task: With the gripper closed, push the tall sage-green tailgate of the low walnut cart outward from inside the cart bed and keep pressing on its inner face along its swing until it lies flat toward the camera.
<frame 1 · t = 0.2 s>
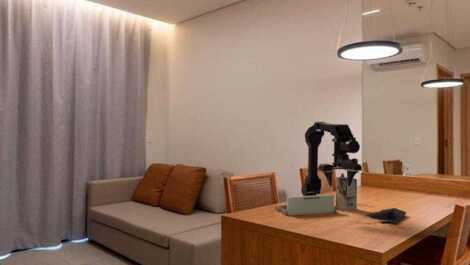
hand: (339, 186, 157), 14 cm above the table, tool pointing down, fingers open, 9 cm apart
hand bell: (341, 202, 194), on the table
dark slate chunk: (386, 219, 158), on the table
tailgate: (311, 204, 159), point 5 cm above the table, hinge at 0.0°
coffee box: (345, 210, 174), on the table
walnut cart: (305, 213, 165), on the table
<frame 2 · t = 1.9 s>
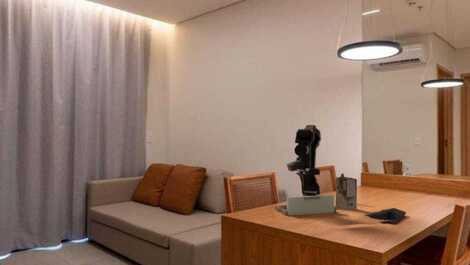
hand: (304, 188, 166), 12 cm above the table, tool pointing down, fingers closed
nothing on the table moved.
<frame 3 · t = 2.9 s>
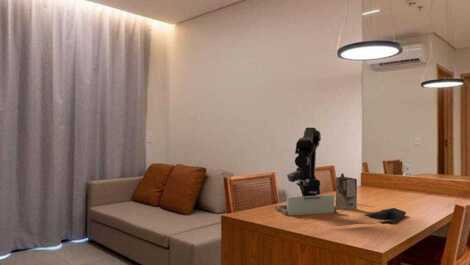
hand: (304, 198, 165), 7 cm above the table, tool pointing down, fingers closed
nothing on the table moved.
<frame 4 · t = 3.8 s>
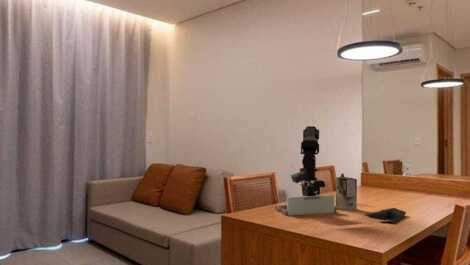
hand: (308, 200, 161), 7 cm above the table, tool pointing down, fingers closed
tailgate: (311, 204, 159), point 5 cm above the table, hinge at 0.3°, touching gripper
everything else where it was.
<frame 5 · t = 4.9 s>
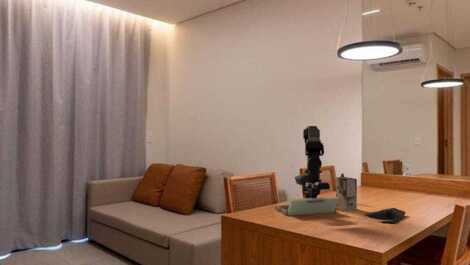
hand: (312, 202, 158), 7 cm above the table, tool pointing down, fingers closed
tailgate: (313, 206, 158), point 5 cm above the table, hinge at 26.7°, touching gripper
everything else where it was.
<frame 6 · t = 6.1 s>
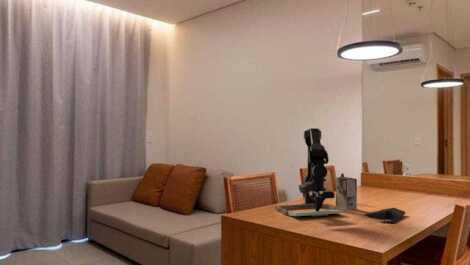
hand: (317, 211, 154), 3 cm above the table, tool pointing down, fingers closed, pressing on tailgate
tailgate: (316, 213, 155), point 2 cm above the table, hinge at 79.2°, touching gripper
everything else where it was.
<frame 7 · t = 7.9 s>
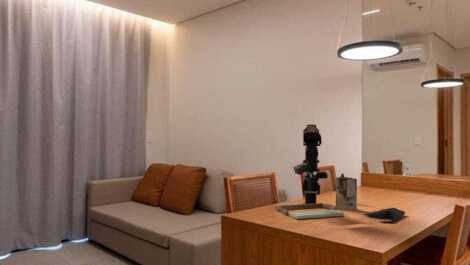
hand: (311, 191, 163), 11 cm above the table, tool pointing down, fingers closed
tailgate: (316, 214, 155), point 2 cm above the table, hinge at 87.3°
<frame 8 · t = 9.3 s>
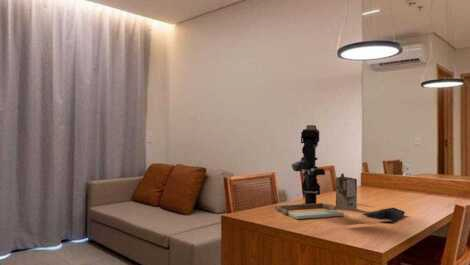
hand: (309, 188, 165), 12 cm above the table, tool pointing down, fingers closed
at the end: tailgate at +87° (first picture: +0°); coffee box moved 0.2 cm from its start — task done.
